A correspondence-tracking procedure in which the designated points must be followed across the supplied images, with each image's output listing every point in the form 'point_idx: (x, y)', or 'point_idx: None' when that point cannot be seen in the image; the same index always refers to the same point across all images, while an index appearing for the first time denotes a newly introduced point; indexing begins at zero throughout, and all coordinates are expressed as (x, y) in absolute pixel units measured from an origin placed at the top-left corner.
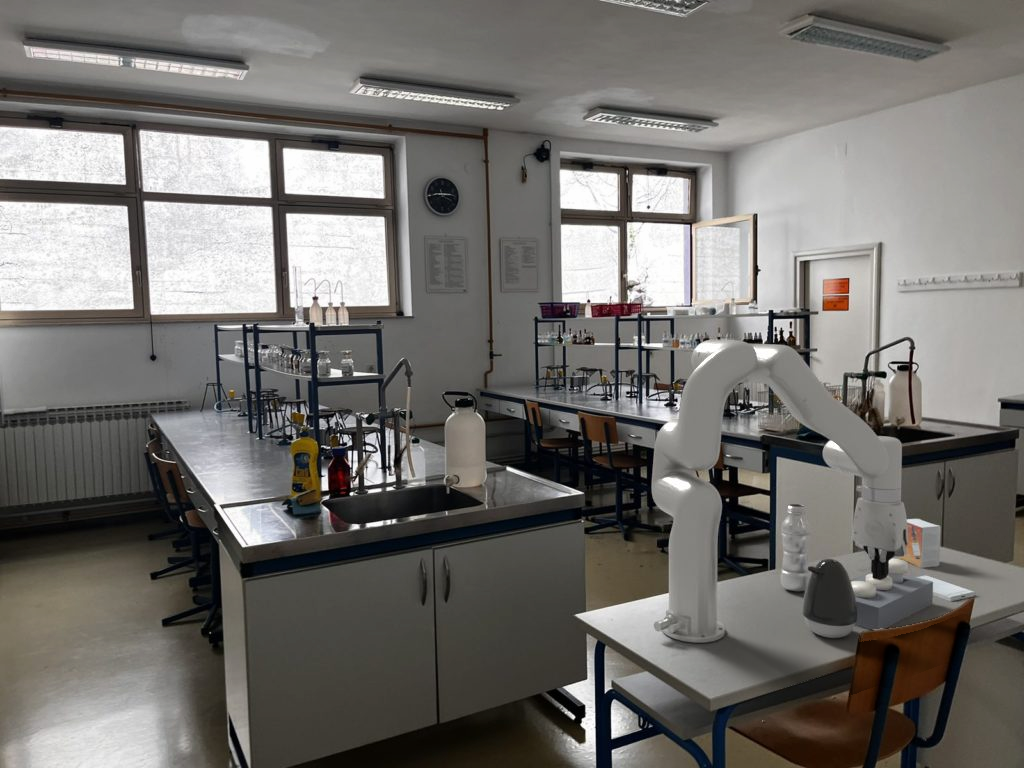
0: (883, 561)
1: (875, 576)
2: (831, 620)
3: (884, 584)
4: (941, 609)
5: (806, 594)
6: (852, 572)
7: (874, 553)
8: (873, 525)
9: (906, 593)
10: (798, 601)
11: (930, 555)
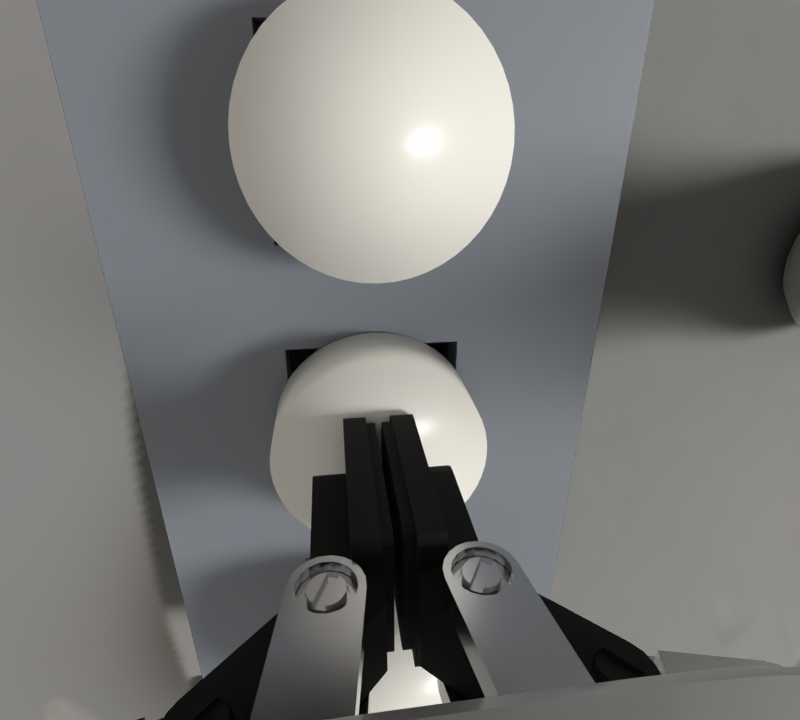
0: (320, 576)
1: (387, 426)
2: None
3: (290, 394)
4: (164, 576)
5: None
6: (661, 646)
7: (464, 636)
8: None
9: (157, 444)
10: (779, 66)
11: None
